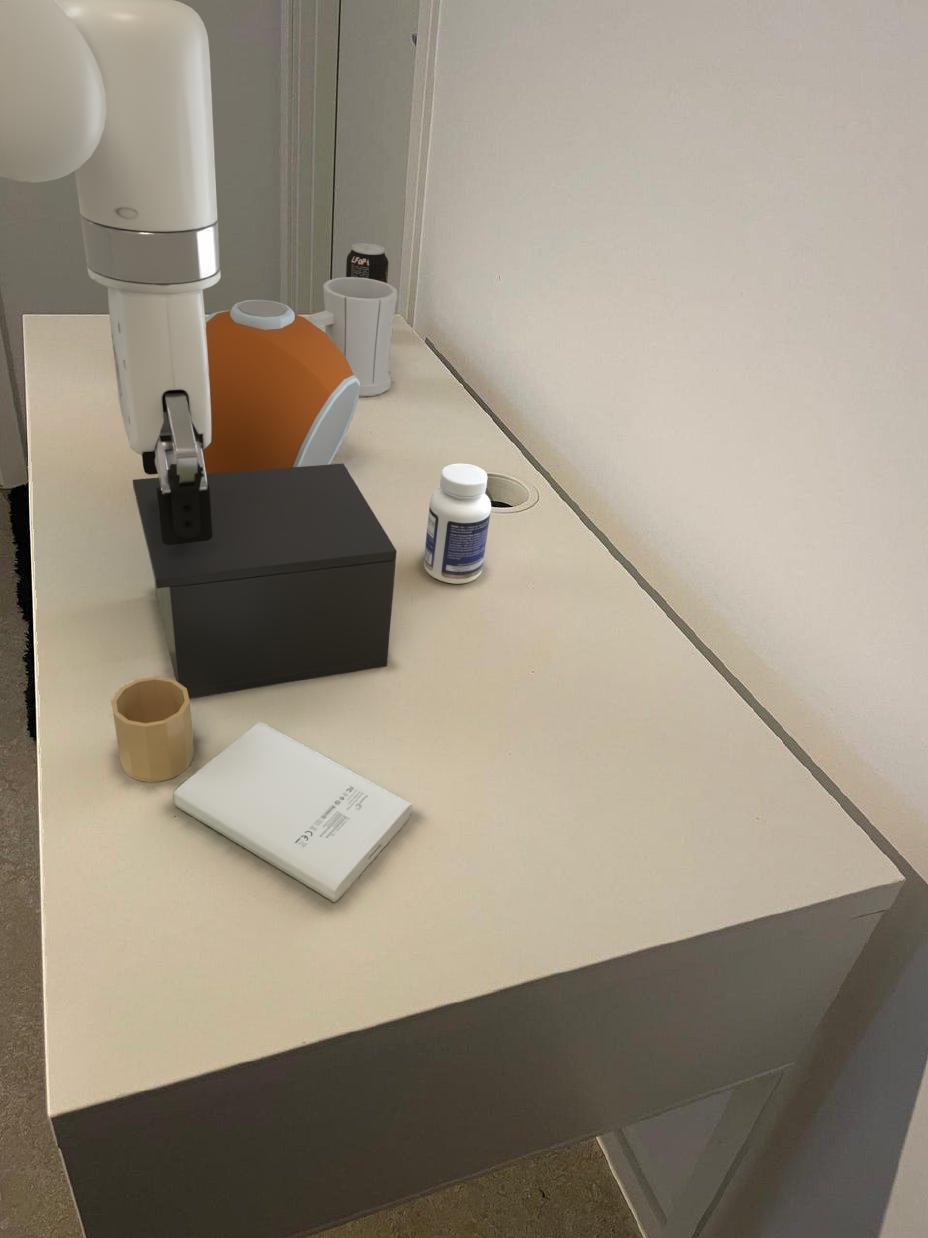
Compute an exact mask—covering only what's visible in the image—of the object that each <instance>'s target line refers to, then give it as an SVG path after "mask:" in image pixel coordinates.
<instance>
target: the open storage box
mask: <svg viewBox="0 0 928 1238" xmlns="http://www.w3.org/2000/svg"><path fill="white" fill-rule="evenodd" d="M396 560H397V559H396ZM396 560H391V561H383V562H375V563H366V564H358V565H350V566H341V567H333V568H325V569H316V570H308V571H299V572H291V573H283V574H274V575H266V576H258V577H249V578H241V579H233V580H224V581H216V582H208V583H199V584H191V585H183V586H174V587H166V588H156V583H155V579H154V578H153V581H154V592H155V596H156V601H157V606H158V610H159V615H160V618H161V622H162V628H163V631H164V636H165V640H166V645H167V649H168V653H169V658H170V662H171V666H172V671H173V675H174V680H176V681H177V682H178V683H180V684H181V685H183V686H184V687H185V688H187V691H188V695H189V700H191V699H196V698H202V697H207V696H208V697H209V696H213V695H219V694H225V693H231V692H238V691H244V690H249V689H257V688H261V687H269V686H273V685H274V686H275V685H280V684H286V683H292V682H298V681H304V680H310V679H317V678H322V677H323V678H324V677H328V676H329V677H330V676H336V675H341V674H347V673H353V672H358V671H364V670H370V669H371V670H372V669H377V668H383V667H387V666H388V659H389V658H388V657H389V648H390V647H389V646H390V635H391V624H392V611H393V602H394V601H393V599H394V588H395V576H396V575H395V574H396V563H397V561H396Z"/></svg>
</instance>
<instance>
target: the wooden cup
mask: <svg viewBox="0 0 928 1238" xmlns="http://www.w3.org/2000/svg"><path fill="white" fill-rule="evenodd" d="M111 709H112V715H113V722H114V730H115V735H116V741H117V748H118V754H119V761H120V766H121V768H122V770H123V771H124V773H125V774H126V775H128V776H129V777H130V778H132V779H134V780H137V781H141V782H145V783H159V782H165V781H169V780H171V779H173V778H175V777H178V776H179V775H181V774H182V773H183V772H185V771H186V770H187V769H188V767H189V766H191V764H192V761H193V759H194V754H195V745H194V735H193V733H194V732H193V723H192V711H191V699H189V695H188V691H187V688H185V687H184V686H183V685H181V684H180V683H178V682H177V681H176V680H175V678H174V679H172V678H167V677H162V676H155V675H154V676H150V677H143V678H137V679H134V680H133V681H130V682H128V683H127V684H125V685H123V686H121V687H119V689H118V690H117V692H116V693H115V694H114V696H113V698H112V699H111Z"/></svg>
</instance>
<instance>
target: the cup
mask: <svg viewBox="0 0 928 1238" xmlns="http://www.w3.org/2000/svg"><path fill="white" fill-rule="evenodd" d="M322 287H323V303H324V304H323V305H324V310H322V311H319V312H316V313H312V314H309V315H308V317H307V318H306V319H307V320H308V321H310V322H311V323H312V324H314V325H315V326H317V327H318V328H319V329H321V330H322V329H323V327H324V328H325V333H326V334H327V335H328V336H329V338H330V339H331V340H332V341H333V343H334V344H335V345H336V346H337V348H338V349H339V350H340V351H341V352H342V354H343V355H344V357H345V358H346V360H347V361H348V363H349V365H350V367H351V370H352V372H353V374H354V376H355V377H356V378H357V379H358V381H359V382H360V388H359V397H360V398H365V397H366V398H367V397H374V396H379V395H382V394H383V393H384V392H386V391H388V390H389V389H390V388H391V386H392V374H391V373H392V372H391V371H390V370H389V367H390V355H391V345H392V335H393V329H394V321H395V313H396V306H397V301H398V290H397V288H396V287H394V286H393V285H391V284H390V283H388V282H387V283H385V282H381V281H377V280H373V279H367V278H357V277H346V276H345V277H336V278H331V279H329V280H327V281H326V282H324V283H323V285H322ZM359 397H358V398H359Z"/></svg>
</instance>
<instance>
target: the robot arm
mask: <svg viewBox="0 0 928 1238" xmlns="http://www.w3.org/2000/svg"><path fill="white" fill-rule="evenodd" d="M211 74H212V73H211V55H210V43H209V37H208V31H207V29H206V26H205V23H204V21H203V20H202V18H201V16H200V15H199V13H198V12H196V11H195V9H194V8H193V7H191V6H189V5H187V4H185V3H183V2H181V1H178V0H0V177H1V178H4V179H7V180H8V179H9V180H12V181H15V182H23V183H24V182H25V183H44V182H52V181H54V180H57V179H61V178H63V177H67V176H69V175H70V174H71V173H73V172H74V179H75V185H76V193H77V199H78V207H79V215H80V223H81V231H82V238H83V246H84V254H85V260H86V267H87V275H88V277H89V278H90V279H91V280H92V281H95V282H96V283H97V284H98V285H102V286H104V287H107V303H108V314H109V323H110V324H109V325H110V333H111V334H110V335H111V341H112V342H111V343H112V349H113V358H114V367H115V377H116V386H117V397H118V403H119V409H120V413H121V417H122V421H123V426H124V429H125V434H126V439H127V441H128V445H129V447H130V449H131V450H132V451H133V452H134V453H136V454H137V455H141V459H142V467H143V471H144V474H146V475H151V476H152V475H158V473H159V476H158V478H159V480H160V486H161V487H156V493H157V502H158V512H159V521H160V531H161V538H162V542H163V543H164V544H166V545H172V544H182V543H191V542H200V541H208V540H210V539H211V538H212V535H213V534H212V519H211V504H210V488H209V484H208V483H207V478H206V472H205V465H204V459H203V453H202V450H204V449H205V448H206V447H208V445H209V444H210V443H211V402H210V382H209V365H208V351H207V337H206V323H205V319H206V314H205V302H204V301H205V300H204V290H206V289H208V288H211V287H213V286H215V285H216V284H218V283H219V281H220V280H221V277H222V275H221V260H220V259H221V256H220V235H219V234H220V233H219V219H218V202H217V199H218V198H217V183H216V181H217V180H216V159H215V139H214V138H215V137H214V119H213V118H214V117H213V98H212V97H213V96H212V94H213V93H212V75H211ZM171 454H174V462H175V464H170V470H168V466H167V460H166V455H171ZM155 457H156V461H157V467H158V473H157V469H156V465H155Z"/></svg>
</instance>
